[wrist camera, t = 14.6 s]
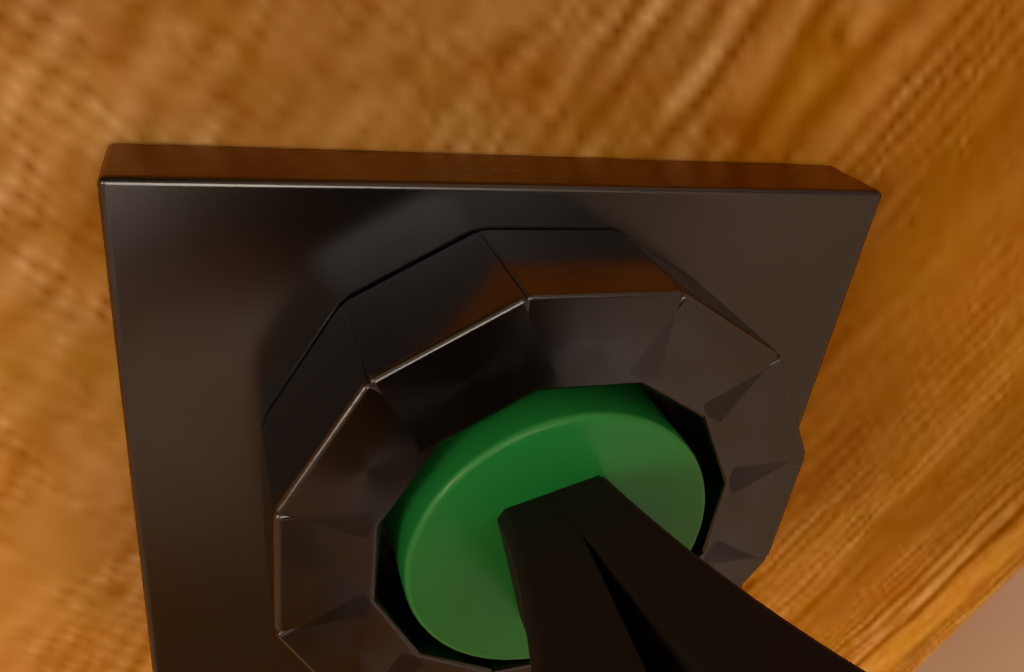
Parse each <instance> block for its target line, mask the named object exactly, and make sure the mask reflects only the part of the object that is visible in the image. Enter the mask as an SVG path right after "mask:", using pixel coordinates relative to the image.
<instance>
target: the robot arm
mask: <svg viewBox="0 0 1024 672" xmlns="http://www.w3.org/2000/svg"><path fill="white" fill-rule="evenodd" d="M497 520H498V524H499V528H500V533H501V537H502V541H503V545H504V550H505V554H506V558H507V563H508V567H509V571H510V576H511V580H512V584H513V589H514V593H515V597H516V602H517V606H518V610H519V614H520V618H521V621H522V623H523V626H524V629H525V632H526V635H527V641H528V649H529V657H530V665H531V672H865V671H864V670H862V669H860V668H859V667H857V666H856V665H854V664H852V663H851V662H849V661H848V660H846V659H844V658H843V657H841V656H839V655H838V654H836V653H835V652H833V651H832V650H830V649H828V648H827V647H825V646H824V645H822V644H821V643H819V642H817V641H816V640H814V639H813V638H811V637H810V636H808V635H807V634H805V633H804V632H803V631H801V630H800V629H798V628H797V627H795V626H794V625H792V624H791V623H789V622H788V621H786V620H785V619H783V618H782V617H780V616H779V615H777V614H776V613H774V612H773V611H771V610H770V609H769V608H767V607H766V606H764V605H763V604H762V603H760V602H759V601H757V600H756V599H754V598H753V597H752V596H750V595H749V594H747V593H746V592H745V591H743V590H742V589H741V588H739V587H738V586H737V585H735V584H734V583H733V582H731V581H730V580H729V579H727V578H726V577H725V576H723V575H722V574H721V573H719V572H718V571H717V570H715V569H714V568H713V567H711V566H710V565H709V564H707V563H706V562H705V561H703V560H702V559H701V558H699V557H698V556H697V555H696V554H694V553H693V552H692V551H691V550H689V549H688V548H687V547H685V546H684V545H683V544H682V543H680V542H679V541H678V540H677V539H676V538H674V537H673V536H672V535H671V534H669V533H668V532H667V531H666V530H665V529H663V528H662V527H661V526H660V525H658V524H657V523H656V522H655V521H654V520H653V519H651V518H650V517H649V516H648V515H647V514H646V513H644V512H643V511H642V510H641V509H640V508H639V507H637V506H636V505H635V504H634V503H633V502H632V501H631V500H630V499H628V498H627V497H626V496H625V495H624V494H623V493H622V492H621V491H619V490H618V489H617V488H616V487H615V486H614V485H613V484H612V483H611V482H610V481H609V480H607V479H605V478H603V477H601V476H599V475H598V476H595V477H593V478H590V479H587V480H584V481H581V482H579V483H576V484H573V485H570V486H568V487H565V488H562V489H559V490H556V491H553V492H551V493H548V494H545V495H542V496H539V497H537V498H534V499H531V500H528V501H525V502H523V503H520V504H517V505H514V506H511V507H509V508H506V509H504V511H503V512H502V513H501V515H500V516H499V517H498V519H497Z"/></svg>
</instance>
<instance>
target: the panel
mask: <svg viewBox="0 0 1024 672" xmlns="http://www.w3.org/2000/svg"><path fill="white" fill-rule="evenodd" d="M97 187H98V196H99V205H100V213H101V222H102V231H103V240H104V248H105V257H106V266H107V275H108V283H109V292H110V301H111V310H112V318H113V327H114V336H115V345H116V354H117V362H118V371H119V380H120V389H121V397H122V406H123V415H124V424H125V432H126V441H127V450H128V459H129V467H130V476H131V485H132V494H133V503H134V511H135V520H136V529H137V538H138V546H139V555H140V564H141V573H142V581H143V590H144V599H145V608H146V616H147V625H148V634H149V643H150V652H151V660H152V669H153V672H531V665H530V658H527V659H515V660H499V659H486V658H481V657H476V656H471V655H468V654H465V653H462V652H459V651H456V650H454V649H452V648H450V647H448V646H446V645H444V644H443V643H441V642H440V641H439V640H437V639H436V638H434V637H433V636H432V635H431V634H430V633H429V632H428V631H427V630H426V629H425V628H424V627H423V626H422V625H421V624H420V623H419V622H418V620H417V619H416V617H415V616H414V614H413V612H412V611H411V609H410V606H409V604H408V601H407V599H406V596H405V592H404V589H403V585H402V582H401V578H400V574H399V571H398V567H397V564H396V560H395V557H394V553H393V549H392V546H391V542H390V539H389V535H388V531H387V528H386V524H385V521H384V519H385V518H386V516H387V515H388V514H389V512H390V511H391V510H392V508H393V507H394V506H395V504H396V503H397V502H398V500H399V499H400V498H401V496H402V495H403V494H404V492H405V491H406V490H407V488H408V487H409V486H410V484H411V483H412V482H413V481H414V479H415V478H416V477H417V475H418V474H419V473H420V471H421V470H422V469H423V467H424V466H425V465H426V463H427V462H428V461H429V459H430V458H431V457H432V455H433V454H434V453H435V451H436V450H437V449H438V447H439V446H440V445H441V443H442V442H444V441H446V440H448V439H450V438H452V437H453V436H455V435H457V434H459V433H461V432H463V431H465V430H466V429H468V428H470V427H472V426H474V425H476V424H477V423H479V422H481V421H483V420H485V419H487V418H488V417H490V416H492V415H494V414H496V413H498V412H499V411H501V410H503V409H505V408H507V407H509V406H510V405H512V404H514V403H516V402H518V401H520V400H522V399H523V398H525V397H527V396H529V395H531V394H533V393H534V392H536V391H540V390H554V389H568V388H583V387H597V386H611V385H625V384H639V386H640V387H641V388H642V389H643V390H644V392H645V393H646V394H647V395H648V397H649V398H650V399H651V400H652V401H653V403H654V404H655V405H656V406H657V408H658V409H659V410H660V411H661V412H662V414H663V415H664V416H665V417H666V419H667V420H668V421H669V422H670V424H671V425H672V426H673V427H674V428H675V430H676V431H677V432H678V433H679V435H680V436H681V437H682V438H683V439H684V441H685V442H686V443H687V445H688V446H689V447H690V449H691V450H692V452H693V453H694V455H695V457H696V459H697V461H698V463H699V465H700V469H701V472H702V476H703V480H704V489H705V506H704V515H703V519H702V523H701V527H700V530H699V533H698V536H697V538H696V541H695V543H694V545H693V547H692V549H691V551H692V552H693V553H694V554H696V555H697V556H698V557H699V558H701V559H702V560H703V561H705V562H706V563H707V564H709V565H710V566H711V567H713V568H714V569H715V570H717V571H718V572H719V573H721V574H722V575H723V576H725V577H726V578H727V579H729V580H730V581H731V582H733V583H734V584H735V585H737V586H738V587H739V588H742V585H743V583H744V582H745V581H746V580H747V579H748V578H749V577H750V576H751V574H752V573H753V572H754V571H755V570H756V569H757V568H758V567H759V566H760V565H761V564H762V562H763V561H764V560H765V558H766V556H768V554H769V552H770V549H771V547H772V544H773V541H774V538H775V536H776V533H777V530H778V527H779V525H780V522H781V519H782V517H783V514H784V511H785V508H786V506H787V503H788V500H789V498H790V495H791V492H792V489H793V487H794V484H795V481H796V479H797V476H798V473H799V470H800V468H801V465H802V462H803V460H804V454H805V452H804V447H803V443H802V439H801V435H800V431H799V425H800V422H801V419H802V417H803V414H804V411H805V408H806V405H807V403H808V400H809V397H810V394H811V391H812V388H813V386H814V383H815V380H816V377H817V374H818V372H819V369H820V366H821V363H822V360H823V358H824V355H825V352H826V349H827V346H828V344H829V341H830V338H831V335H832V332H833V330H834V327H835V324H836V321H837V318H838V315H839V313H840V310H841V307H842V304H843V301H844V299H845V296H846V293H847V290H848V287H849V285H850V282H851V279H852V276H853V273H854V271H855V268H856V265H857V262H858V259H859V256H860V254H861V251H862V248H863V245H864V242H865V240H866V237H867V234H868V231H869V228H870V226H871V223H872V220H873V217H874V214H875V212H876V209H877V206H878V203H879V200H880V198H881V193H880V192H879V191H878V190H876V189H874V188H873V187H871V186H869V185H867V184H865V183H863V182H861V181H859V180H857V179H855V178H853V177H851V176H849V175H847V174H845V173H843V172H841V171H839V170H837V169H835V168H834V167H832V166H811V165H778V164H746V163H713V162H681V161H648V160H616V159H583V158H551V157H518V156H486V155H453V154H421V153H388V152H356V151H323V150H291V149H258V148H226V147H193V146H161V145H128V144H112V145H110V146H108V147H107V150H106V153H105V156H104V160H103V163H102V167H101V170H100V174H99V177H98V181H97Z"/></svg>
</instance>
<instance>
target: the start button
mask: <svg viewBox="0 0 1024 672" xmlns="http://www.w3.org/2000/svg"><path fill="white" fill-rule="evenodd" d="M598 475H599V476H601V477H603V478H605V479H607V480H609V481H610V482H611V483H612V484H613V485H614V486H615V487H616V488H617V489H618V490H619V491H621V492H622V493H623V494H624V495H625V496H626V497H627V498H628V499H630V500H631V501H632V502H633V503H634V504H635V505H636V506H637V507H639V508H640V509H641V510H642V511H643V512H644V513H646V514H647V515H648V516H649V517H650V518H651V519H653V520H654V521H655V522H656V523H657V524H658V525H660V526H661V527H662V528H663V529H665V530H666V531H667V532H668V533H669V534H671V535H672V536H673V537H674V538H676V539H677V540H678V541H679V542H680V543H682V544H683V545H684V546H685V547H687V548H688V549H689V550H691V549H692V547H693V545H694V543H695V541H696V538H697V536H698V533H699V530H700V527H701V523H702V519H703V515H704V506H705V489H704V480H703V476H702V472H701V469H700V465H699V463H698V461H697V459H696V457H695V455H694V453H693V452H692V450H691V449H690V447H689V446H688V445H687V443H686V442H685V441H684V439H683V438H682V437H681V436H680V435H679V433H678V432H677V431H676V430H675V428H674V427H673V426H672V425H671V424H670V422H669V421H668V420H667V419H666V417H665V416H664V415H663V414H662V412H661V411H660V410H659V409H658V408H657V406H656V405H655V404H654V403H653V401H652V400H651V399H650V398H649V397H648V395H647V394H646V393H645V392H644V390H643V389H642V388H641V387H640V386H639V384H625V385H611V386H597V387H583V388H568V389H554V390H540V391H536V392H534V393H533V394H531V395H529V396H527V397H525V398H523V399H522V400H520V401H518V402H516V403H514V404H512V405H510V406H509V407H507V408H505V409H503V410H501V411H499V412H498V413H496V414H494V415H492V416H490V417H488V418H487V419H485V420H483V421H481V422H479V423H477V424H476V425H474V426H472V427H470V428H468V429H466V430H465V431H463V432H461V433H459V434H457V435H455V436H453V437H452V438H450V439H448V440H446V441H444V442H442V443H441V445H440V446H439V447H438V449H437V450H436V451H435V453H434V454H433V455H432V457H431V458H430V459H429V461H428V462H427V463H426V465H425V466H424V467H423V469H422V470H421V471H420V473H419V474H418V475H417V477H416V478H415V479H414V481H413V482H412V483H411V484H410V486H409V487H408V488H407V490H406V491H405V492H404V494H403V495H402V496H401V498H400V499H399V500H398V502H397V503H396V504H395V506H394V507H393V508H392V510H391V511H390V512H389V514H388V515H387V516H386V518H385V519H384V521H385V524H386V528H387V531H388V535H389V539H390V542H391V546H392V549H393V553H394V557H395V560H396V564H397V567H398V571H399V574H400V578H401V582H402V585H403V589H404V592H405V596H406V599H407V601H408V604H409V606H410V609H411V611H412V612H413V614H414V616H415V617H416V619H417V620H418V622H419V623H420V624H421V625H422V626H423V627H424V628H425V629H426V630H427V631H428V632H429V633H430V634H431V635H432V636H433V637H434V638H436V639H437V640H439V641H440V642H441V643H443V644H444V645H446V646H448V647H450V648H452V649H454V650H456V651H459V652H462V653H465V654H468V655H471V656H476V657H481V658H486V659H499V660H515V659H527V658H530V657H529V649H528V641H527V635H526V632H525V629H524V626H523V623H522V621H521V618H520V614H519V610H518V606H517V602H516V597H515V593H514V589H513V584H512V580H511V576H510V571H509V567H508V563H507V558H506V554H505V550H504V545H503V541H502V537H501V533H500V528H499V524H498V520H497V519H498V517H499V516H500V515H501V513H502V512H503V511H504V509H506V508H509V507H511V506H514V505H517V504H520V503H523V502H525V501H528V500H531V499H534V498H537V497H539V496H542V495H545V494H548V493H551V492H553V491H556V490H559V489H562V488H565V487H568V486H570V485H573V484H576V483H579V482H581V481H584V480H587V479H590V478H593V477H595V476H598Z"/></svg>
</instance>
